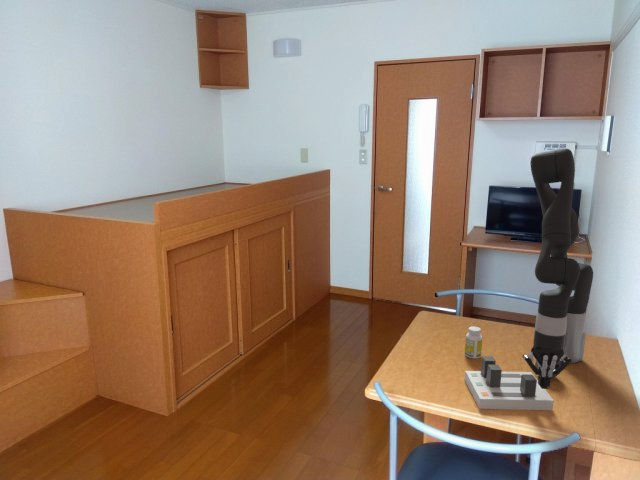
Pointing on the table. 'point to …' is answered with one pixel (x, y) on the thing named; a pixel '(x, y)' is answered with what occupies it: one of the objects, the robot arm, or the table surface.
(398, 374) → the table surface
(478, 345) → the supplement bottle
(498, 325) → the table surface
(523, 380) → the block
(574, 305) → the robot arm
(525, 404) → the breaker panel
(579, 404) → the table surface
